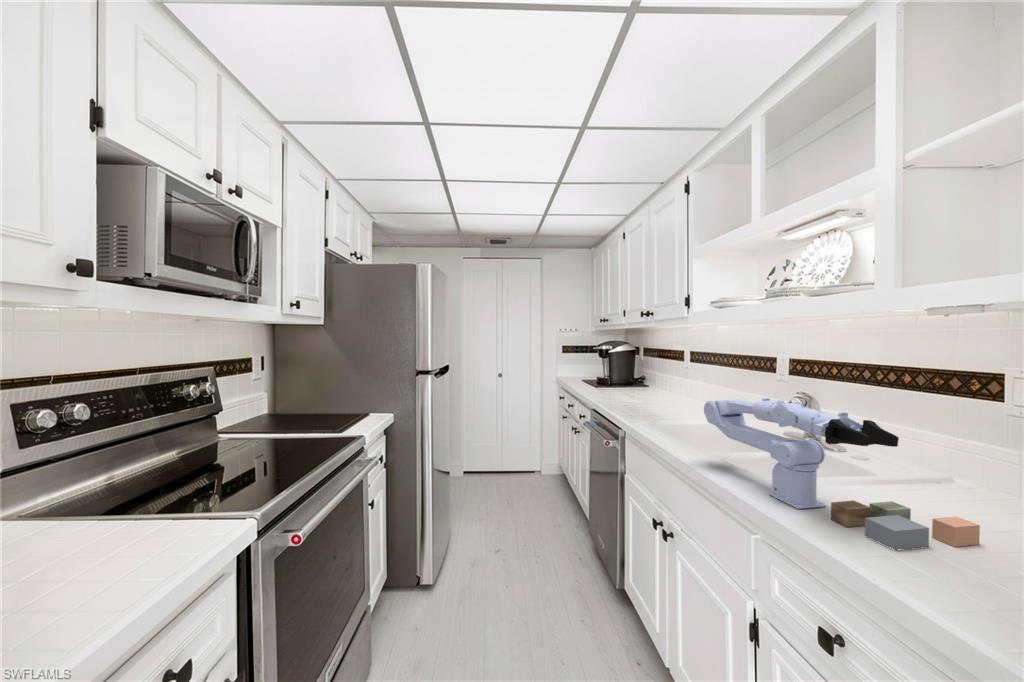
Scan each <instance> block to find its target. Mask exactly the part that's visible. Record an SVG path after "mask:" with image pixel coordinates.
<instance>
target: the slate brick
mask: <svg viewBox="0 0 1024 682" xmlns="http://www.w3.org/2000/svg"><path fill="white" fill-rule="evenodd" d="M864 528H865V529H864V537H865V536H867V537H869V538H871V539H873V540H872V541H874V540H875V541H874V542H876V541H878V542H880V543H882V544H884V545H886V546H888V547H891V548H893V549H894V550H898V549H908V550H913V549H912V548H917V549H922V548H921V547H927V548H929V544H930V527H928V526H926V525H923V524H921V523H918V522H915V521H914V520H911V519H910V520H909V519H906V518H904V517H901V516H899V515H892V516H881V517H870V518H865V526H864ZM867 537H866V538H867ZM869 538H868V539H869ZM871 539H870V540H871ZM878 542H877V543H878ZM880 543H879V544H880ZM882 544H881V545H882ZM884 545H883V546H884ZM886 546H885V547H886ZM888 547H887V548H888ZM894 550H893V551H894ZM898 551H899V550H898Z"/></svg>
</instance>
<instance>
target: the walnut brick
mask: <svg viewBox="0 0 1024 682" xmlns="http://www.w3.org/2000/svg"><path fill="white" fill-rule="evenodd" d="M830 506H831V507H830V520H831V521H832V522H833V521H834V522H835V523H837V524H840V525H841V526H844V527H845V526H846V527H845V528H857V527H858V528H859V527H865V518H870V517H871V507H869V505H866V504H863V503H861V502H859V501H856V500H853V499H852V500H842V501H841V500H840V501H832V502H831V503H830Z"/></svg>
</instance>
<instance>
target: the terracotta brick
mask: <svg viewBox="0 0 1024 682" xmlns="http://www.w3.org/2000/svg"><path fill="white" fill-rule="evenodd" d="M931 522H932V524H931V525H932V527H931V528H932V533H931V535H932V538H933V539H934V540H936V541H938V542H942V543H944V544H946V545H949V546H951V547H953V546H954V548H960V547H959V546H961V547H970V546H969V545H971V546H979V545H980V531H981V529H980V528H981V526H980V524H978V523H976V522H972V521H970V520H967V519H964V518H961V517H959V516H947V517H937V518H936V517H935V518H932V521H931Z"/></svg>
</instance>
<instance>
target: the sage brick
mask: <svg viewBox="0 0 1024 682" xmlns="http://www.w3.org/2000/svg"><path fill="white" fill-rule="evenodd" d="M868 507H871V517H881V516H892V515H899V516H901V517H904V518H906V519H909V520H911V511H912V510H911V508H910V507H908V506H905V505H903V504H899V503H897V502H894V501H882V502H880V501H879V502H870V503H869V505H868Z"/></svg>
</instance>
